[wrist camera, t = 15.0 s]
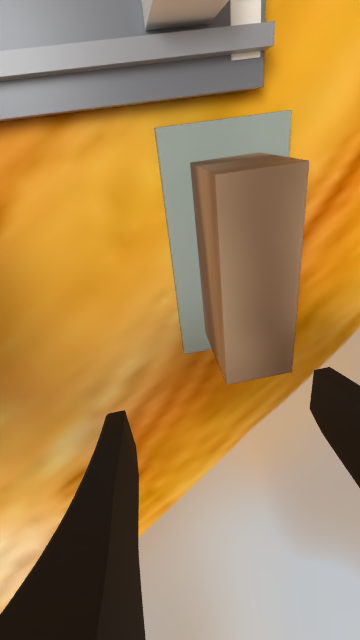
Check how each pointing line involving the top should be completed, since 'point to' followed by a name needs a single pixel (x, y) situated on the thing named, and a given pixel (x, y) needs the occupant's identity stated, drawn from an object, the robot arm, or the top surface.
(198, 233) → the brown rectangular block
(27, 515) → the top surface
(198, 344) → the mat
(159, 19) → the switch tab
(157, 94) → the switch panel
